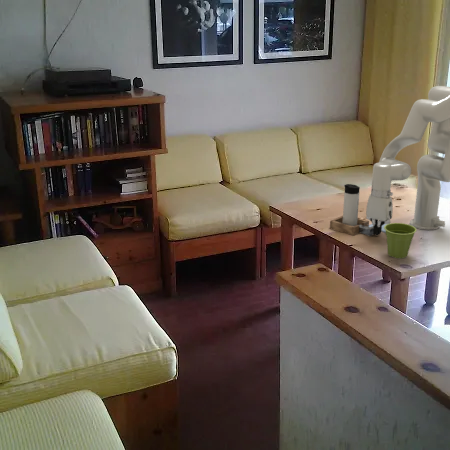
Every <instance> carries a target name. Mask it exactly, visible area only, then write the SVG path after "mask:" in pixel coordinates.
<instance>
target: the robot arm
mask: <svg viewBox="0 0 450 450" xmlns="http://www.w3.org/2000/svg"><path fill="white" fill-rule="evenodd" d="M429 123H432V127H431V130H430V133H429V137H428V140H427V147H428V149H429V150H430V151H432V152H435V153H438V154H442V155H444V156H439V155H435V154H430V153H429V154H424V155H422V156H421V157H420V158H419V159H418V161H417V165H416V169H417V170H416V172H417V186H416V187H417V190H416V196H415V197H416V198H415V205H414V214H413V218H412V219H411V220H409V225H411V226H413V227H415V228H416V229H417V230H418V229H419V230H428V231H433V230H437V229H439V228H440V227H443V228H444V227H445V226H446V223H445V222H446V221H445V220H440V215H439V214H438V213H439V205H440V197H441V190H442V189H441V187H442V186H441V182H443V183H450V86H447V85H436V86H433V87H431V88H430V90H428V96H427V98H426V99H425V98H421V99H417V100H416V101H414V103H413V105H412V106H411V109H410V111H409V113H408V115H407V118H406V121H405V123H404V125H403V127H402V130H401V132H400V134H399V135H397V136H395V137H394V138H393V139H392V140H390V142H389V143H388V144H387V145H386V146H385V147H384V149H383V151H382V154H381V156H380V158H379V161H378V162H376V163H374V164H373V167H372V176H371V177H372V178H371V190H370V194H369V196H368V199H367V203H366V209H365V211H366V212H365V215H366V217H365V218H366V219H367V221H369V222H371V224H372V225H373V232H374V233H373V235H372V236H380V235H381V234H382V232H381V230H382V225H384V224H390V223H391V219H392V218H393V214H394V213H393V210H394V208H393V206H394V205H393V197H392V196H393V195H394V193H393V192H391V191H392V190H391V185H392V184H391V183H392V181H406V180H407V179H408V178H410V177H411V175H412V167H411V166H410V164H408V163H407V162H404V161H401V160H398V159H396V157H397V156H398V153H399V152H401V150H403V149H404V148H406V147H408V146H411V145H414V144H417V143H420V142H421V141H422V140H423V137H424V134H425V132H426V130H427V127H428V125H429ZM438 215H439V216H438Z"/></svg>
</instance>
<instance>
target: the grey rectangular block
mask: <svg viewBox="0 0 450 450" xmlns="http://www.w3.org/2000/svg"><path fill="white" fill-rule="evenodd" d="M373 233H374V232H373V226H372V227H367V226H364V225H360V226H359V233H358V234H362V235H366V236H367V237H372V236H374V235H373Z"/></svg>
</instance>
